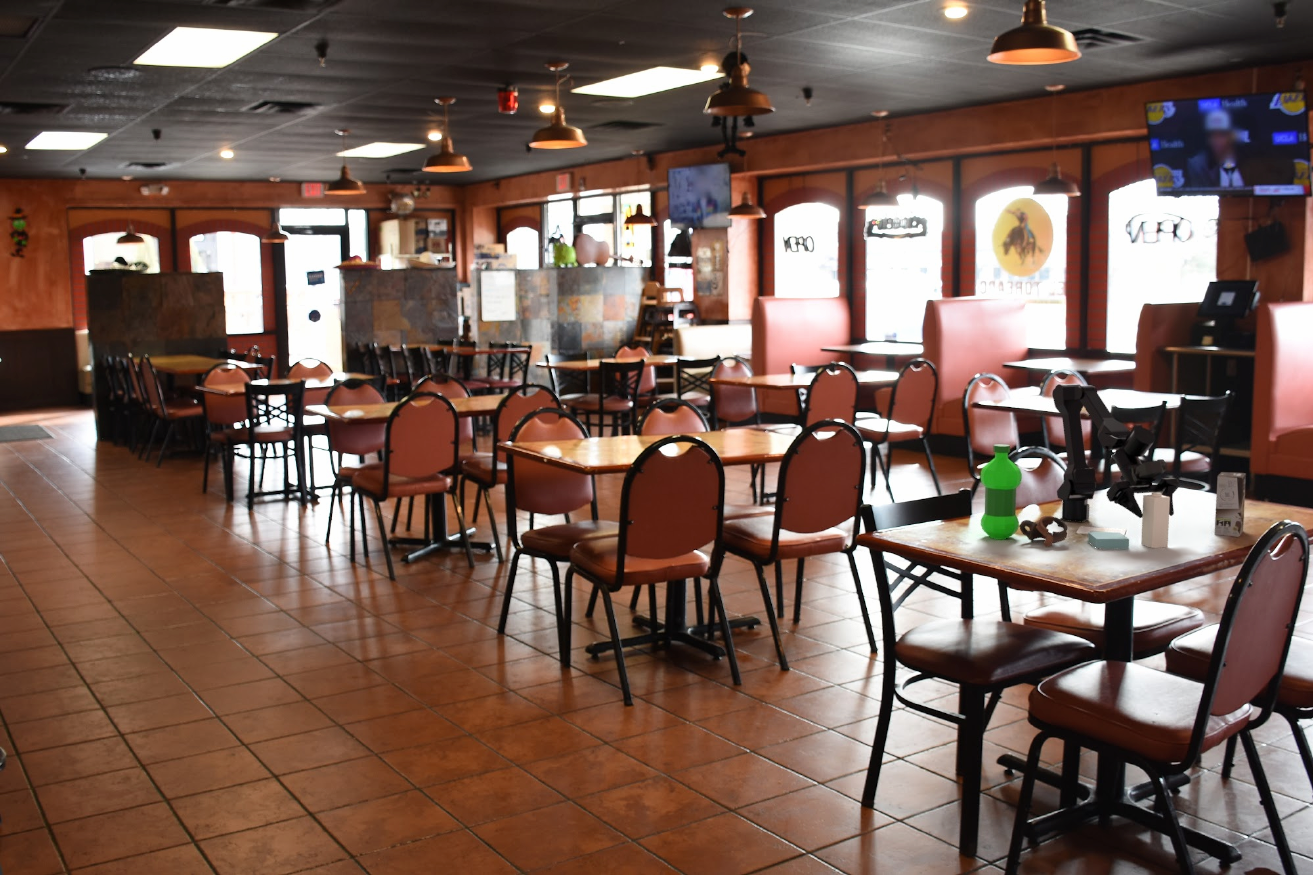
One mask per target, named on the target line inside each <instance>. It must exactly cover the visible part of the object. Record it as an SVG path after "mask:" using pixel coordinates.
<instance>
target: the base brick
mask: <svg viewBox="0 0 1313 875" xmlns="http://www.w3.org/2000/svg"><path fill="white" fill-rule="evenodd" d="M1087 535H1088V540H1087V543H1088V542H1089V544H1090V543H1091V544H1092V545H1093V546H1092V545H1091V544H1090V545H1091V546H1092V547H1094V548H1095V547H1096V548H1101V549H1100V550H1129V549H1130V538H1128V537H1127V536H1126V535H1123V534H1121V533H1104V532H1088V534H1087ZM1096 548H1095V549H1096Z"/></svg>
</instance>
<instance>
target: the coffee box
mask: <svg viewBox="0 0 1313 875" xmlns="http://www.w3.org/2000/svg"><path fill="white" fill-rule="evenodd" d="M1246 481H1247V473H1244V472H1227V471H1226V472H1225V471H1221V472H1220V473H1219V474H1218V475H1217V481H1216V483H1217V484H1216V496H1215V497H1216V499H1215V518H1214V519H1215V520H1214V535H1217V536H1227V537H1234V538H1235V537H1236V538H1237V537H1238V538H1239V537H1241V535H1242V533H1243V531H1244V522H1245V503H1246V502H1245V501H1246V497H1245V496H1246V483H1247V482H1246Z"/></svg>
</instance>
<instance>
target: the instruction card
mask: <svg viewBox="0 0 1313 875" xmlns="http://www.w3.org/2000/svg"><path fill="white" fill-rule="evenodd" d="M1088 532H1104V533H1121V534H1123V535H1124V536H1126V535H1125V534H1126V532H1127V529H1121V528H1111V527H1110V528H1109V527H1108V528H1107V527H1094V526H1082V525H1081V526H1080V525H1079V527H1078V530H1077V531H1076V534H1077V535H1078V534H1079V535H1088Z"/></svg>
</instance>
